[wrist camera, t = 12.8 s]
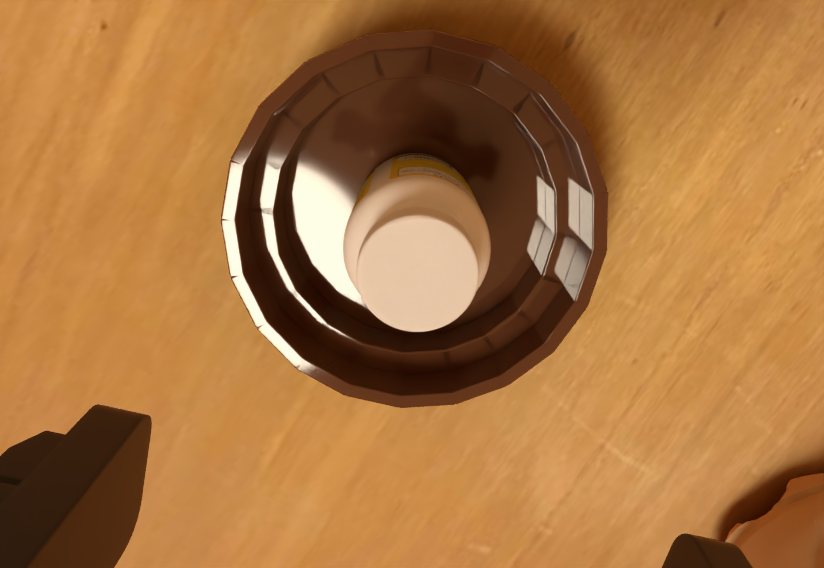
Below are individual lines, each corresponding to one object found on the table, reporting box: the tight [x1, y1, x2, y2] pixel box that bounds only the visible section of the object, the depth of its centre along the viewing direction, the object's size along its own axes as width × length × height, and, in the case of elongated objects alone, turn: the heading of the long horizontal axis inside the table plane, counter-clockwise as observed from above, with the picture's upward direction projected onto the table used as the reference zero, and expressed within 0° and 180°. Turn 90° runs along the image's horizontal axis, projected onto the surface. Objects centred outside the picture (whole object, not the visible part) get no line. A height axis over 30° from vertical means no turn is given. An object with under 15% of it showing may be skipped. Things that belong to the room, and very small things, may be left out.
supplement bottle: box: [343, 153, 491, 332], centre depth 26 cm, size 5×5×10 cm
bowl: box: [221, 29, 608, 408], centre depth 29 cm, size 15×15×5 cm
